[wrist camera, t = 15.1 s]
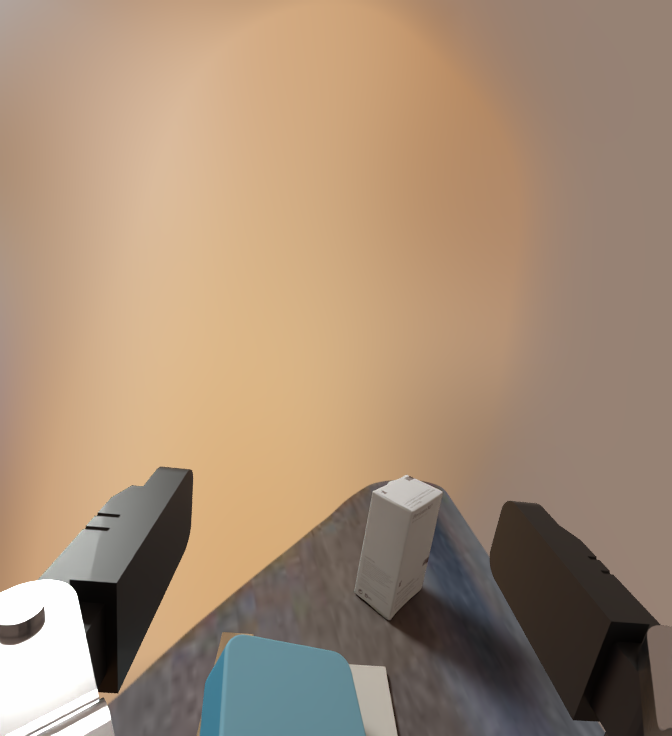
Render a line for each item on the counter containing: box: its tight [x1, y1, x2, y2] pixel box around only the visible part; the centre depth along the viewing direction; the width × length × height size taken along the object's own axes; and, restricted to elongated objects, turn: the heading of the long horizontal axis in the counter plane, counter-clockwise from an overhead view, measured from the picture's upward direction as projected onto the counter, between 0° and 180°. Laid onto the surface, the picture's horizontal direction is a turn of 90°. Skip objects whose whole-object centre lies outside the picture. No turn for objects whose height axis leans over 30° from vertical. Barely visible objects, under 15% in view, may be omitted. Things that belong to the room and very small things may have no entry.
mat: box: [349, 664, 397, 736], centre depth 35 cm, size 14×10×1 cm
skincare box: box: [354, 475, 443, 620], centre depth 50 cm, size 8×6×15 cm
